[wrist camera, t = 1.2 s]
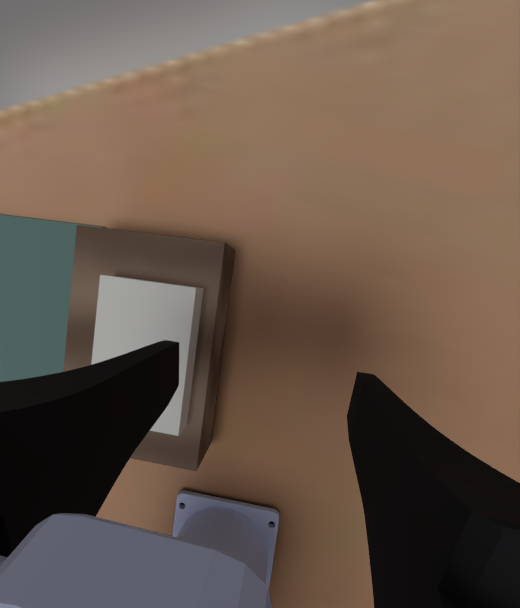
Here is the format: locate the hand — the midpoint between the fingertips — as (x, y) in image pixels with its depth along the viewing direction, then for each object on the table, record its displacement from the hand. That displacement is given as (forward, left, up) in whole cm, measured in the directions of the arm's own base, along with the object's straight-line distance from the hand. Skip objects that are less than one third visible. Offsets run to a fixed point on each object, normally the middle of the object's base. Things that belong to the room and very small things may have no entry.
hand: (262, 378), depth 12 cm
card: (-1, +8, -7) cm, 10 cm away
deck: (-1, +9, -10) cm, 14 cm away
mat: (-1, +19, -10) cm, 22 cm away
